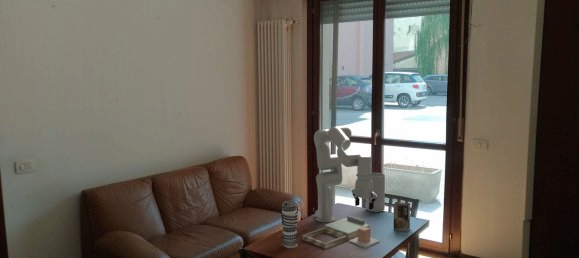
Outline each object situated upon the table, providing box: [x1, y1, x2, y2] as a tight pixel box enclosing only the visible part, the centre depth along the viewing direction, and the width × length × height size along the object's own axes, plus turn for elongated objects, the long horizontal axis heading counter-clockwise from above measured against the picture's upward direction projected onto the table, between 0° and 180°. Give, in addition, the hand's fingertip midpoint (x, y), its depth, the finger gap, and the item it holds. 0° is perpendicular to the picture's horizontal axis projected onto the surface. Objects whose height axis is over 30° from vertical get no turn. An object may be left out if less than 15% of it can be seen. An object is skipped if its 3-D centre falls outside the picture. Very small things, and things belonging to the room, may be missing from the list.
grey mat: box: [348, 236, 380, 249], centre depth 237 cm, size 12×12×1 cm
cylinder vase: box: [365, 172, 386, 213], centre depth 294 cm, size 12×12×25 cm
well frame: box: [301, 226, 371, 250], centre depth 249 cm, size 19×39×2 cm, turn 131°
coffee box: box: [392, 201, 411, 233], centre depth 255 cm, size 9×6×16 cm
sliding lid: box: [324, 215, 371, 235], centre depth 254 cm, size 19×19×4 cm
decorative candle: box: [280, 200, 299, 249], centre depth 234 cm, size 9×9×25 cm
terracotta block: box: [357, 226, 371, 243], centre depth 237 cm, size 5×5×7 cm
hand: (364, 207), depth 235 cm, fingers open, 9 cm apart
